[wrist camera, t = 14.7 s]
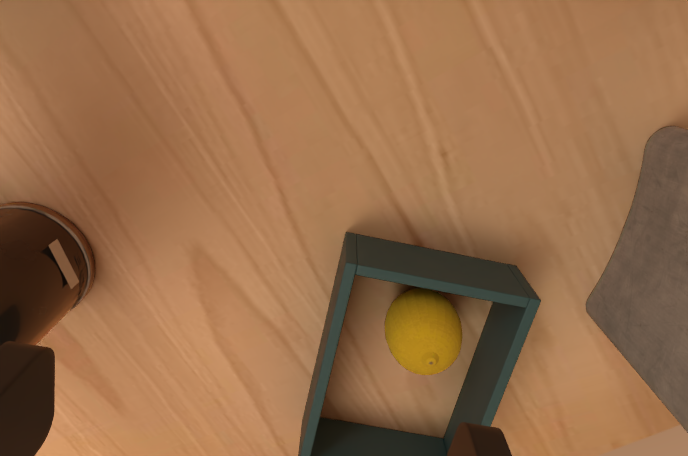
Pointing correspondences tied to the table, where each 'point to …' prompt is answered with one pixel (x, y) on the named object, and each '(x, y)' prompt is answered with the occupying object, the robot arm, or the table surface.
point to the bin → (485, 369)
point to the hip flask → (652, 275)
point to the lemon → (423, 331)
